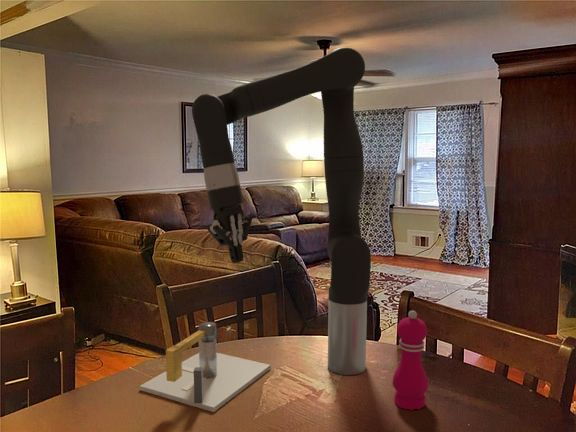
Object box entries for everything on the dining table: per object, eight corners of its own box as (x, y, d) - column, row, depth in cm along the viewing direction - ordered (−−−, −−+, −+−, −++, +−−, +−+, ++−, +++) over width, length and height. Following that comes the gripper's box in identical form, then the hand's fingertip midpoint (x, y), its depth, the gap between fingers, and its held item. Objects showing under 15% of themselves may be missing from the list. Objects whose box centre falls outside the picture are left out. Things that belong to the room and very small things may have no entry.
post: (206, 369, 117) (206, 335, 116) (220, 373, 115) (219, 338, 114) (196, 376, 113) (195, 341, 112) (210, 380, 112) (209, 344, 110)
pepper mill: (428, 413, 99) (432, 317, 97) (392, 409, 101) (394, 315, 98) (426, 396, 106) (429, 306, 104) (391, 393, 108) (394, 304, 105)
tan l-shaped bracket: (204, 349, 116) (204, 321, 115) (219, 351, 115) (219, 323, 114) (162, 379, 100) (161, 347, 100) (178, 382, 99) (178, 350, 98)
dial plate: (204, 353, 129) (203, 323, 128) (270, 368, 120) (270, 337, 119) (138, 390, 108) (137, 356, 108) (212, 413, 99) (211, 375, 98)
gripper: (214, 187, 102) (230, 268, 103) (254, 180, 113) (268, 254, 114) (189, 192, 106) (205, 270, 108) (230, 185, 117) (244, 256, 118)
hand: (238, 262), depth 111 cm, fingers closed
